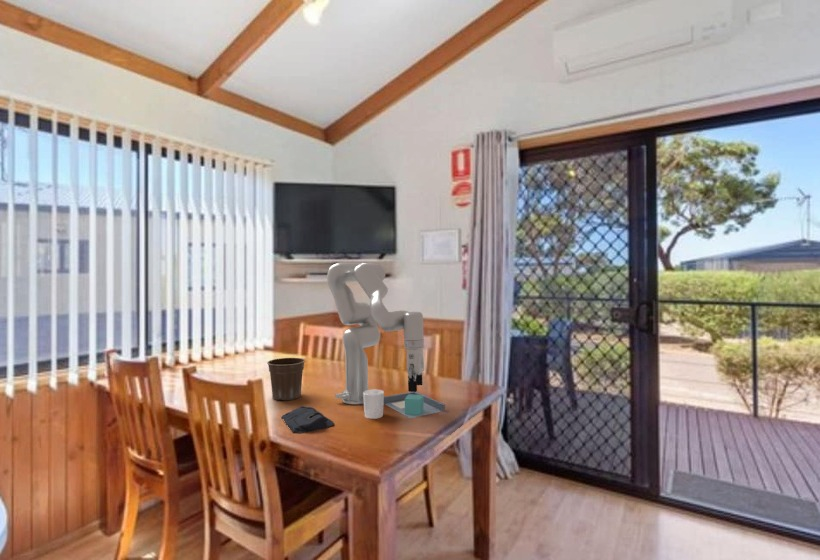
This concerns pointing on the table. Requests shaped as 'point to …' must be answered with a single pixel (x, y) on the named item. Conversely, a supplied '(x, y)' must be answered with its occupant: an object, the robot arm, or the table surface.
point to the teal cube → (414, 404)
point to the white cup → (373, 403)
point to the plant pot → (286, 377)
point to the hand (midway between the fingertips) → (415, 388)
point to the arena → (399, 404)
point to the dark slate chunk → (306, 420)
